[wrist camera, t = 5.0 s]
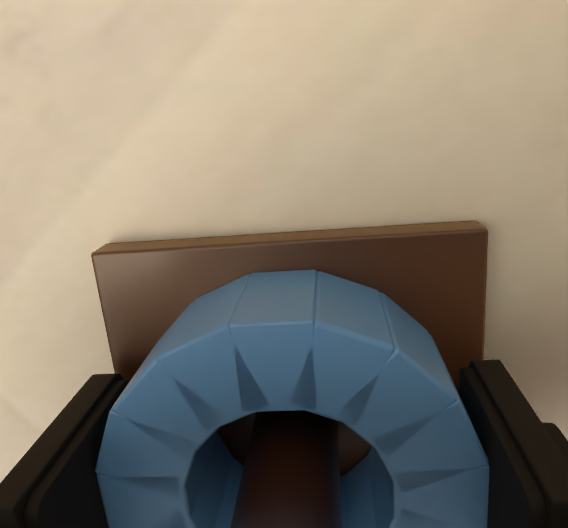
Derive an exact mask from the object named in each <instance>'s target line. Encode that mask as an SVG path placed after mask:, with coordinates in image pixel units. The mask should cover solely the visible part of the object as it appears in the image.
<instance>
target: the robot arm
mask: <svg viewBox="0 0 568 528" xmlns="http://www.w3.org/2000/svg"><path fill="white" fill-rule="evenodd" d="M129 382H130V381H129V380H124V379H123V377H122V375H120V374H96V375H93V376H91V377H90V378H89V380H88V381H87V382H86V383H85V384H84V386H83V387H82V388H81V389H80V390H79V391H78V393H77V394H76V395H75V396H74V397H73V398H72V400H71V401H70V402H69V403H68V404H67V406H66V407H65V408H64V409H63V410H62V411H61V413H60V414H59V415H58V416H57V417H56V418H55V420H54V421H53V422H52V423H51V424H50V426H49V427H48V428H47V429H46V430H45V431H44V433H43V434H42V435H41V436H40V437H39V438H38V440H37V441H36V442H35V443H34V444H33V446H32V447H31V448H30V449H29V450H28V451H27V453H26V454H25V455H24V456H23V457H22V459H21V460H20V461H19V462H18V463H17V464H16V466H15V467H14V468H13V469H12V470H11V471H10V473H9V474H8V475H7V476H6V477H5V479H4V480H3V481H2V482H1V483H0V528H108V524H107V520H106V515H105V511H104V506H103V502H102V498H101V493H100V489H99V485H98V480H97V473H96V472H95V468H96V464H97V460H98V456H99V452H100V448H101V444H102V439H103V435H104V431H105V427H106V423H107V419H108V415H109V411H110V410H111V408H112V407H113V405H114V403H115V402H116V401H117V399H118V398H119V396H120V395H121V393H122V392H123V390H124V389H125V388H126V386H127V385H128V383H129ZM459 396H460V398H461V400H462V402H463V404H464V407H465V409H466V411H467V413H468V415H469V418H470V420H471V422H472V424H473V426H474V429H475V431H476V433H477V435H478V437H479V440H480V442H481V444H482V446H483V448H484V451H485V453H486V455H487V457H488V459H489V468H490V469H489V494H488V518H487V528H568V441H567V439H566V438H565V437H564V435H563V434H562V432H561V431H560V430H559V428H558V427H557V426H556V425H555V424H553V423H542V422H541V421H540V419H539V418H538V416H537V415H536V413H535V412H534V410H533V409H532V407H531V406H530V404H529V403H528V401H527V400H526V398H525V397H524V395H523V394H522V392H521V391H520V389H519V388H518V386H517V385H516V383H515V382H514V380H513V379H512V377H511V376H510V374H509V373H508V372H507V370H506V369H505V367H504V366H503V364H502V363H501V361H500V360H474V361H470V362H469V366H468V368H461V369H460V373H459Z"/></svg>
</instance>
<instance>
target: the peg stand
mask: <svg viewBox="0 0 568 528" xmlns="http://www.w3.org/2000/svg"><path fill="white" fill-rule="evenodd" d="M487 250H488V230H487V229H486V228H485V227H484V226H482V225H481V224H480V223H479V222H477V221H463V222H447V223H431V224H415V225H400V226H384V227H368V228H352V229H336V230H320V231H304V232H288V233H272V234H256V235H240V236H224V237H208V238H192V239H176V240H160V241H144V242H128V243H112V244H105V245H104V246H102V247H101V248H99V249H98V250H96V251H95V252H93V253H92V255H91V257H92V262H93V267H94V272H95V277H96V282H97V287H98V292H99V297H100V302H101V307H102V312H103V317H104V322H105V327H106V332H107V337H108V342H109V347H110V352H111V356H112V361H113V366H114V371H115V374H120V375H122V377H123V379H124V380H129V381H130V380H131V379H132V378H133V376H134V375H135V373H136V372H137V370H138V369H139V368H140V366H141V365H142V363H143V362H144V360H145V359H146V358H147V356H148V355H149V353H150V352H151V350H152V349H153V347H154V346H155V345H156V343H157V342H158V341H159V339H160V338H161V337H162V336H163V335H164V334H165V332H166V331H167V330H168V329H169V328H170V327H171V325H172V324H173V323H174V322H175V321H176V320H177V318H178V317H179V316H180V315H181V314H182V313H183V311H184V310H185V309H186V308H187V307H188V306H189V304H190V303H192V302H194V300H195V299H196V298H198V297H201V296H203V295H205V294H207V293H209V292H211V291H213V290H215V289H218V288H220V287H222V286H224V285H226V284H228V283H230V282H232V281H234V280H237V279H239V278H241V277H243V276H245V275H247V274H250V275H251V273H258V272H276V271H294V270H312V269H315V270H317V272H318V271H322V272H325V273H328V274H331V275H334V276H337V277H340V278H343V279H346V280H349V281H352V282H355V283H358V284H361V285H364V286H367V287H370V288H373V289H376V290H378V291H379V292H381V293H384V294H385V295H387V296H388V297H389V298H390V299H391V300H392V301H394V302H395V303H396V304H397V305H398V306H399V307H401V308H402V309H403V310H404V311H405V312H406V313H408V314H409V315H410V316H411V317H412V318H414V319H415V320H416V321H417V322H418V323H419V324H421V325H422V326H423V327H424V328H425V329H426V330H427V331H428V333H429V334H430V335H431V336H432V338H433V340H434V342H435V344H436V346H437V348H438V351H439V353H440V355H441V357H442V359H443V361H444V363H445V365H446V368H447V370H448V372H449V374H450V376H451V378H452V380H453V382H454V385H455V387H456V389H457V391H458V393H459V373H460V369H461V368H468V366H469V362H470V361H474V360H484V337H485V308H486V279H487ZM217 432H218V434H219V436H220V437H221V439H222V441H223V442H224V444H225V445H226V447H227V449H228V450H229V452H230V453H231V455H232V457H233V458H234V459H235V460H237V461H238V462H239V463H241V464H242V465H243V466H244V468H243V473H242V477H241V482H240V486H239V491H238V495H237V500H236V504H235V509H234V513H233V518H232V522H231V527H230V528H342V516H341V489H340V476H343V475H345V474H347V473H348V472H349V471H350V470H351V469H353V468H354V467H355V466H356V465H357V464H358V463H359V462H360V461H362V460H363V459H364V458H365V457H366V456H367V455H368V453H369V451H370V449H371V447H372V445H370V444H369V443H368V442H367V441H365V440H364V439H363V438H361V437H360V436H359V435H358V434H356V433H355V432H354V431H353V430H351V429H350V428H349V427H348V426H346V425H345V424H344V423H342V422H339V421H336V420H333V419H330V418H327V417H324V416H320V415H317V414H314V413H311V412H308V411H305V410H299V411H264V412H255V413H252V414H250V415H248V416H245V417H243V418H240V419H238V420H235V421H233V422H231V423H228V424H226V425H223V426H221V427H219V428H218V429H217Z"/></svg>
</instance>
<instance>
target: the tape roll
mask: <svg viewBox="0 0 568 528" xmlns="http://www.w3.org/2000/svg"><path fill="white" fill-rule="evenodd" d="M299 410H305V411H308V412H311V413H314V414H317V415H320V416H324V417H327V418H330V419H333V420H336V421H339V422H342V423H344V424H345V425H346V426H348V427H349V428H350V429H351V430H353V431H354V432H355V433H356V434H358V435H359V436H360V437H361V438H363V439H364V440H365V441H367V442H368V443H369V444H370V445H372V447H371V449H370V451H369V453H368V455H367V456H366V457H365V458H364V459H363V460H362V461H360V462H359V463H358V464H357V465H356V466H355V467H354V468H353V469H351V470H350V471H349V472H348V473H347V474H345V475H343V476H340V489H341V516H342V528H487V518H488V494H489V469H490V468H489V459H488V457H487V455H486V453H485V451H484V448H483V446H482V444H481V442H480V440H479V437H478V435H477V433H476V431H475V429H474V426H473V424H472V422H471V420H470V418H469V415H468V413H467V411H466V409H465V407H464V404H463V402H462V400H461V398H460V396H459V393H458V391H457V389H456V387H455V385H454V382H453V380H452V378H451V376H450V374H449V372H448V370H447V368H446V365H445V363H444V361H443V359H442V357H441V355H440V353H439V351H438V348H437V346H436V344H435V342H434V340H433V338H432V336H431V335H430V334H429V333H428V331H427V330H426V329H425V328H424V327H423V326H422V325H421V324H419V323H418V322H417V321H416V320H415V319H414V318H412V317H411V316H410V315H409V314H408V313H406V312H405V311H404V310H403V309H402V308H401V307H399V306H398V305H397V304H396V303H395V302H394V301H392V300H391V299H390V298H389V297H388V296H387V295H385V294H384V293H381V292H379V291H378V290H376V289H373V288H370V287H367V286H364V285H361V284H358V283H355V282H352V281H349V280H346V279H343V278H340V277H337V276H334V275H331V274H328V273H325V272H322V271H318V272H317V270H315V269H312V270H294V271H276V272H258V273H251V275H250V274H247V275H245V276H243V277H241V278H239V279H237V280H234V281H232V282H230V283H228V284H226V285H224V286H222V287H220V288H218V289H215V290H213V291H211V292H209V293H207V294H205V295H203V296H201V297H198V298H196V299H195V300H194V302H192V303H190V304H189V306H188V307H187V308H186V309H185V310H184V311H183V313H182V314H181V315H180V316H179V317H178V318H177V320H176V321H175V322H174V323H173V324H172V325H171V327H170V328H169V329H168V330H167V331H166V332H165V334H164V335H163V336H162V337H161V338H160V339H159V341H158V342H157V343H156V345H155V346H154V347H153V349H152V350H151V352H150V353H149V355H148V356H147V358H146V359H145V360H144V362H143V363H142V365H141V366H140V368H139V369H138V370H137V372H136V373H135V375H134V376H133V378H132V379H131V380H130V382H129V383H128V385H127V386H126V388H125V389H124V390H123V392H122V393H121V395H120V396H119V398H118V399H117V401H116V402H115V403H114V405H113V407H112V408H111V410H110V411H109V415H108V419H107V423H106V427H105V431H104V435H103V439H102V444H101V448H100V452H99V456H98V460H97V464H96V468H95V472H96V473H97V480H98V485H99V489H100V493H101V498H102V502H103V506H104V511H105V515H106V520H107V524H108V528H230V527H231V522H232V518H233V513H234V509H235V504H236V500H237V495H238V491H239V486H240V482H241V477H242V473H243V468H244V466H243V465H242V464H241V463H239V462H238V461H237V460H235V459H234V458H233V457H232V455H231V453H230V452H229V450H228V449H227V447H226V445H225V444H224V442H223V441H222V439H221V437H220V436H219V434H218V432H217V429H218V428H219V427H221V426H223V425H226V424H228V423H231V422H233V421H235V420H238V419H240V418H243V417H245V416H248V415H250V414H252V413H255V412H264V411H299Z"/></svg>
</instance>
